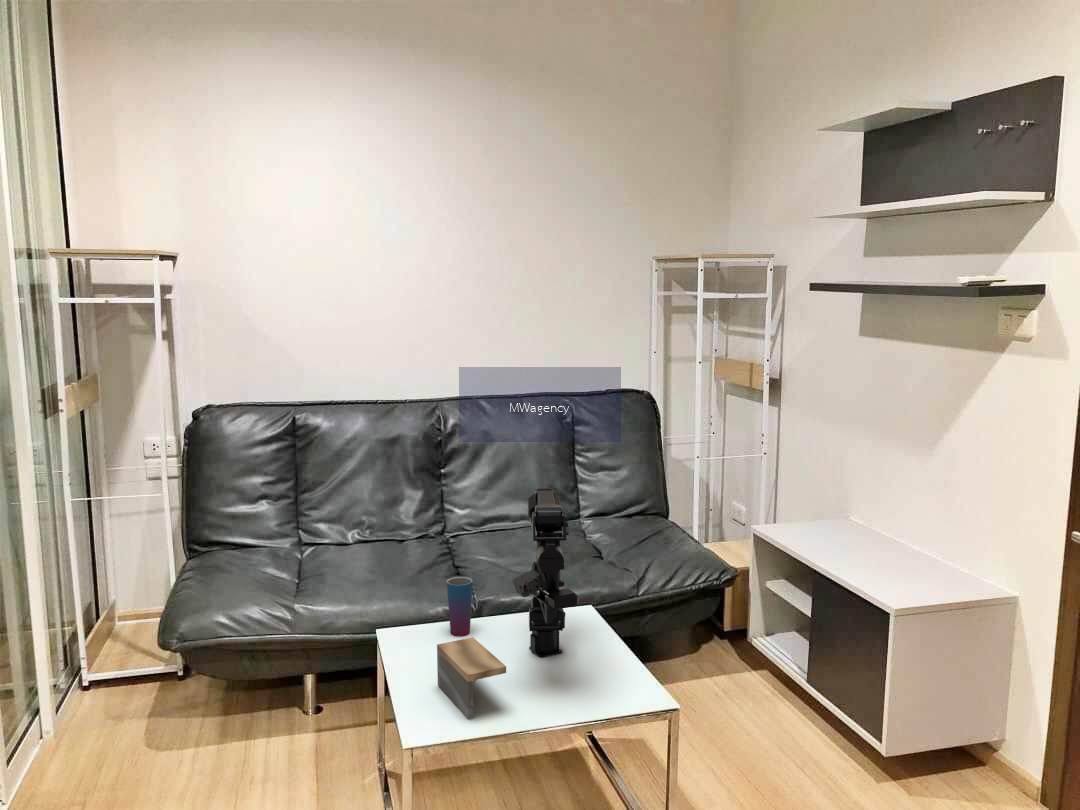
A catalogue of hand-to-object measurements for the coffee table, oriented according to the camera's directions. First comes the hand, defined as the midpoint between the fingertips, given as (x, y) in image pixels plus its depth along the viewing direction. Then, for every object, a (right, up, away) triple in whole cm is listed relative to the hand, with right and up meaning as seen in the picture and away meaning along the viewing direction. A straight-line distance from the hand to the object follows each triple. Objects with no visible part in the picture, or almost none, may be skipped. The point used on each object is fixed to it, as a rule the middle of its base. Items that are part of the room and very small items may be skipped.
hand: (548, 623), depth 201 cm
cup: (-23, -10, +26) cm, 36 cm away
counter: (-17, -14, -10) cm, 24 cm away
